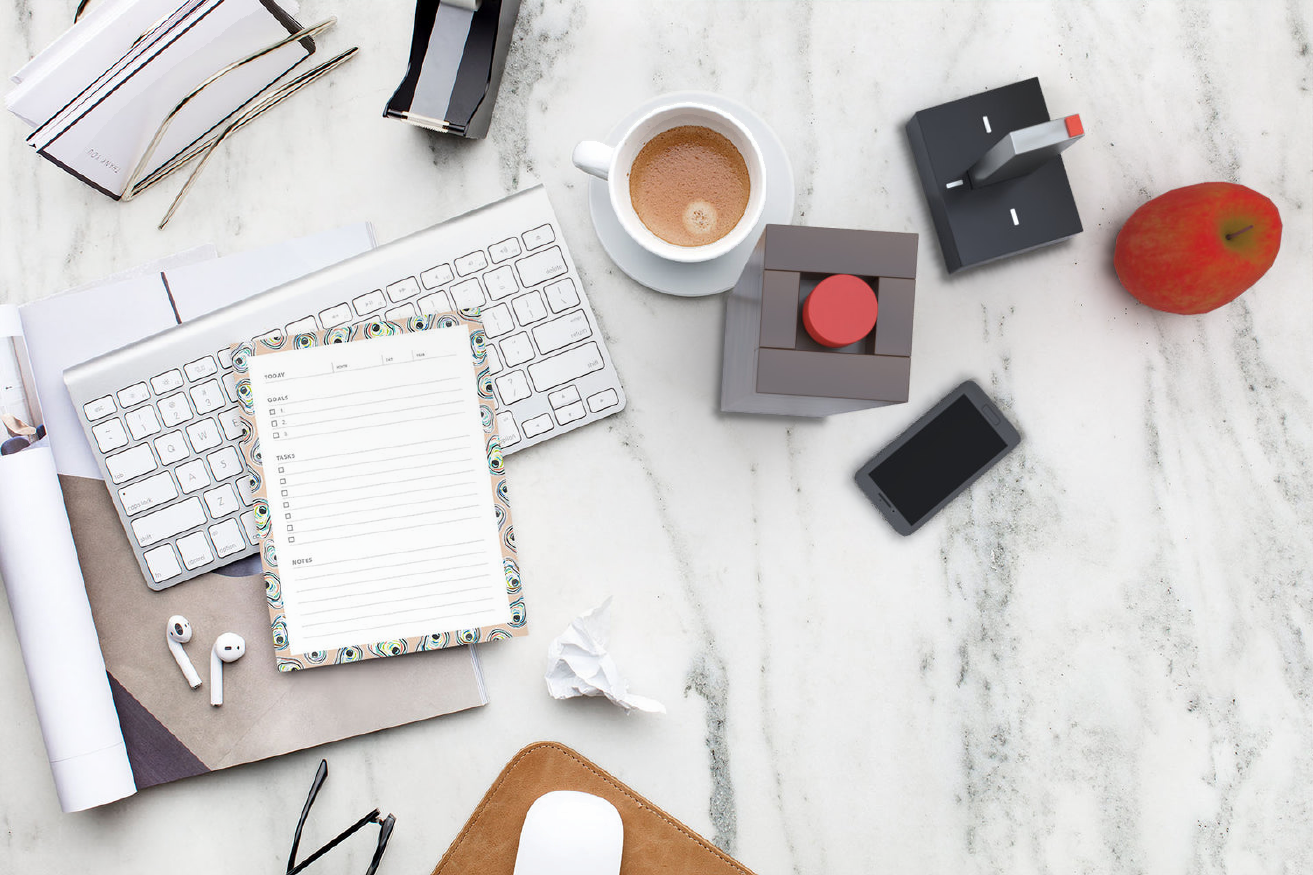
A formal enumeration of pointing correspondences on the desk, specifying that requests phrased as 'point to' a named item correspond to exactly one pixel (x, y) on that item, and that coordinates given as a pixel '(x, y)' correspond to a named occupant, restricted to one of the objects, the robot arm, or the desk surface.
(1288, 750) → the desk surface
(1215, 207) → the apple
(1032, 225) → the panel
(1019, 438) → the cell phone
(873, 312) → the button
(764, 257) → the block
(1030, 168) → the stove knob
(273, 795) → the desk surface
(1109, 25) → the desk surface
